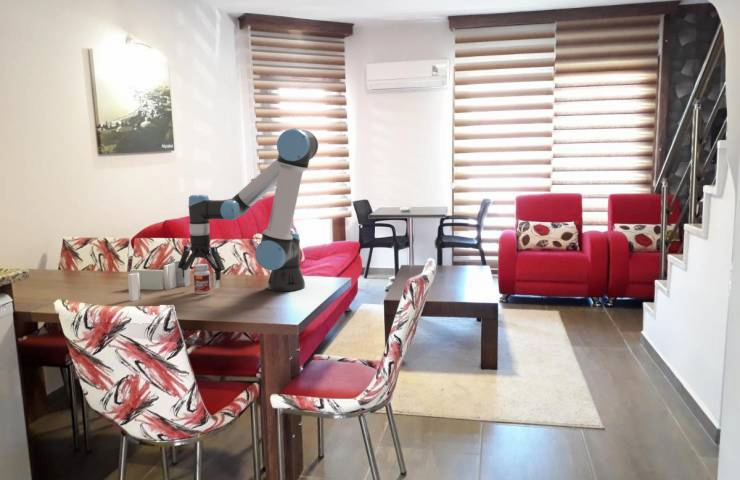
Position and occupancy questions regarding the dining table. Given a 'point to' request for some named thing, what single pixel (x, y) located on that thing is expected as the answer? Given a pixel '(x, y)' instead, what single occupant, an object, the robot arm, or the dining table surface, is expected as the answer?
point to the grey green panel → (150, 279)
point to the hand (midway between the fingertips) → (201, 286)
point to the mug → (178, 273)
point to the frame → (135, 284)
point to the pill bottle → (202, 279)
